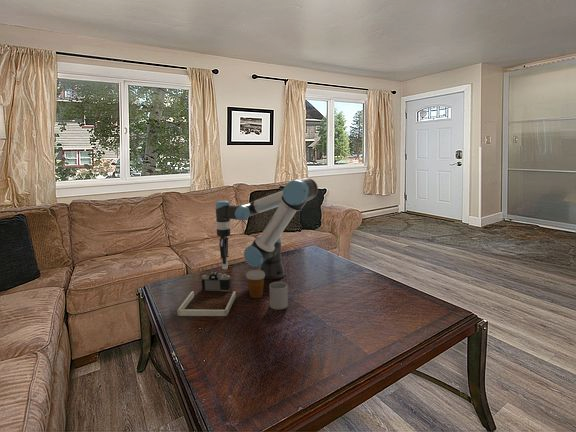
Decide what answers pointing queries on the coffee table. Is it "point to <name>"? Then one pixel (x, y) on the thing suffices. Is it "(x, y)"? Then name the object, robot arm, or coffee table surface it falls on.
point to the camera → (216, 282)
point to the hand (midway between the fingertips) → (225, 268)
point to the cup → (278, 295)
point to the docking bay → (190, 312)
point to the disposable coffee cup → (255, 283)
